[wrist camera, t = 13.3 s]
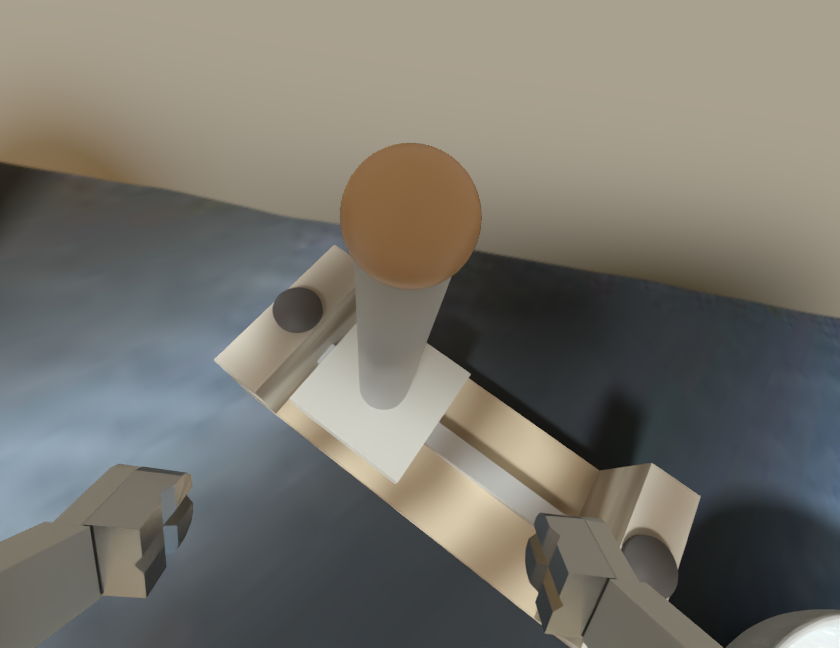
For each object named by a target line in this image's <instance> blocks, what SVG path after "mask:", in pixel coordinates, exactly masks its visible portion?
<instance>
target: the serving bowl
mask: <svg viewBox="0 0 840 648" xmlns="http://www.w3.org/2000/svg"><path fill="white" fill-rule="evenodd" d="M726 648H840V610H833V609H814V610H803V611H795V612H789V613H785V614H781V615H777V616H774V617H771V618H768V619H766V620H764V621H761V622H759V623H758V624H756V625H754V626H752V627H750V628H748V629H747V630H745V631H744V632H743V633H741V634H740V635H739V636H738V637H737V638H735V639H734V640H733V641H732V642H731V643H730V644H729V645H728V646H727V647H726Z"/></svg>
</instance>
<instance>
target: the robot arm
mask: <svg viewBox="0 0 840 648" xmlns="http://www.w3.org/2000/svg"><path fill="white" fill-rule="evenodd" d="M191 488H192V479H191V475H190V474H188V473H185V472H178V471H171V470H164V469H156V468H149V467H138V466H131V465H124V464H118V465H115V466H113V467H111V468H110V469H109V470H108V471H107V472H105V473H104V474H103V475H102V476H101V477H100V478H99V479H98V480H97V481H96V482H95V483H94V484H93V485H92V486H91V487H90V488H89V489H88V490H86V491H85V492H84V493H83V494H82V495H81V496H80V497H79V498H78V499H77V500H76V501H75V502H74V503H73V504H72V505H71V506H70V507H68V508H67V509H66V510H65V511H64V512H63V513H62V514H61V515H60V516H59V517H58V518H57V519H56V520H55V521H54V522H43V523H41V524H39V525H37V526H34V527H32V528H30V529H28V530H26V531H23V532H21V533H19V534H17V535H15V536H13V537H10V538H8V539H6V540H4V541H2V542H0V648H35V647H36V646H37V645H39V644H40V643H41V642H43V641H44V640H45V639H47V638H48V637H49V636H51V635H52V634H53V633H55V632H56V631H57V630H59V629H60V628H61V627H63V626H64V625H66V624H67V623H68V622H70V621H71V620H72V619H74V618H75V617H76V616H78V615H79V614H80V613H82V612H83V611H84V610H86V609H87V608H88V607H90V606H91V605H92V604H94V603H95V602H96V601H98V600H99V599H100V598H101V595H103V596H121V597H138V598H147V596H148V595H149V593H150V591H151V590H152V588H153V587H154V585H155V584H156V582H157V581H158V579H159V577H160V576H161V574H162V573H163V571H164V570H165V568H166V556H167V555H168V554H170V553H171V552H173V551H174V550H176V549H177V548H179V546H180V544H181V543H182V541H183V539H184V538H185V536H186V534H187V531H188V529H189V526H190V523H191V520H192V514H193V502H192V501H191V500H190V498H189V497H188V496H187V493H188V492H189V491H190V489H191ZM533 525H534V527H535V530H536V533H535V534H534V535H533V536H531V537H530V538H529V539H528V542H527V546H526V549H525V566H526V572H527V576H528V579H529V583H530V584H531V585H532V586H533V587H534V588H535V589H536V590H537V592H538V596H537V598H536V601H535V603H536V607H537V610H538V613H539V617H540V620H541V623H542V626H543V630H544V633H545V634H553V635H562V636H570V637H578V638H583V639H582V641H583V642H584V644H585V645H586V646H587V647H588V648H723V647H722V646H721V645H720V644H718V643H717V642H716V641H715V640H714V639H713V638H711V637H710V636H709V635H708V634H707V633H705V632H704V631H703V630H702V629H701V628H699V627H698V626H697V625H696V624H695V623H693V622H692V621H691V620H690V619H689V618H688V617H686V616H685V615H684V614H683V613H682V612H680V611H679V610H678V609H677V608H676V607H674V606H673V605H672V604H671V603H670V602H668V601H667V600H666V599H665V598H664V597H663V596H661V595H660V594H659V593H658V592H657V591H655V590H654V589H653V588H652V587H651V586H649V585H648V584H647V583H644V582H639V580H638V578H637V576H636V575H635V573H634V571H633V569H632V568H631V566H630V564H629V563H628V561H627V559H626V557H625V556H624V554H623V552H622V550H621V549H620V547H619V545H618V544H617V542H616V540H615V538H614V537H613V535H612V533H611V531H610V530H609V528H608V526H607V524H606V523H605V522H604V521H603V520H602V519H601V518H591V517H578V516H570V515H560V514H550V513H539V514H538V515H537V516H536V519H535V522H534V524H533Z"/></svg>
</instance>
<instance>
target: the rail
mask: <svg viewBox="0 0 840 648" xmlns="http://www.w3.org/2000/svg"><path fill="white" fill-rule="evenodd" d="M356 323H357V317H356V294H355V272H354V259H353V258H352V256H350V255H349V254H347V253H346V252H345V251H343V250H342V249H340V248H339V247H337V246H336V245H334V246H333V247H331V248H330V249H329V250H328V251H327V252H326V253H325V254H324V255H323V256H322V257H321V258H320V259H319V260H318V261H317V262H316V263H315V264H314V265H313V266H312V267H311V268H309V269H308V270H307V271H306V272H305V273H304V274H303V275H302V276H301V277H300V278H299V279H298V280H297V281H296V282H295V283H294V284H293V285H292V286H291V287H290V288H289V289H287V290H286V291H284V292H282V293H281V294H280V295H279V296H278V297H277V298H276V300H275V302H274V303H273V304H272V305H271V306H270V307H269V308H268V309H267V310H265V311H264V312H263V313H262V314H261V315H260V316H259V317H258V318H257V319H256V320H255V321H254V322H253V323H252V324H251V325H250V326H249V327H248V328H247V329H246V330H245V331H243V332H242V333H241V334H240V335H239V336H238V337H237V338H236V339H235V340H234V341H233V342H232V343H231V344H230V345H229V346H228V347H227V348H226V349H225V350H224V351H223V352H221V353H220V354H219V355H218V356H217V357H216V358H215V359H214V361H215V362H216V363H218V364H219V365H220V366H221V367H222V368H223V369H224V370H225V371H226V372H227V373H228V374H229V375H230V376H231V377H232V378H233V379H234V380H235V381H236V382H237V383H238V384H239V385H241V386H242V387H243V388H244V389H245V390H246V391H247V392H248V393H249V394H250V395H252V396H253V397H254V398H255V399H257V400H258V401H259V402H260V403H262V404H263V405H264V406H265V407H267V408H268V409H269V410H271V411H272V412H273V413H274V414H276V415H277V416H278V417H279V418H281V419H282V420H283V421H284V422H286V423H287V424H288V425H289V426H291V427H292V428H293V429H295V430H296V431H297V432H298V433H300V434H301V435H302V436H303V437H305V438H306V439H307V440H308V441H310V442H311V443H312V444H313V445H315V446H316V447H317V448H319V449H320V450H321V451H322V452H324V453H325V454H326V455H327V456H329V457H330V458H331V459H332V460H334V461H335V462H336V463H337V464H339V465H340V466H341V467H343V468H344V469H345V470H346V471H348V472H349V473H350V474H351V475H353V476H354V477H355V478H356V479H358V480H359V481H360V482H362V483H363V484H364V485H365V486H367V487H368V488H369V489H370V490H372V491H373V492H374V493H375V494H377V495H378V496H379V497H380V498H382V499H383V500H384V501H386V502H387V503H388V504H389V505H391V506H392V507H393V508H394V509H396V510H397V511H398V512H399V513H401V514H402V515H403V516H404V517H406V518H407V519H408V520H410V521H411V522H412V523H413V524H415V525H416V526H417V527H418V528H420V529H421V530H422V531H423V532H425V533H426V534H427V535H428V536H430V537H431V538H432V539H434V540H435V541H436V542H437V543H439V544H440V545H441V546H442V547H444V548H445V549H446V550H447V551H449V552H450V553H451V554H452V555H454V556H455V557H456V558H458V559H459V560H460V561H461V562H463V563H464V564H465V565H466V566H468V567H469V568H470V569H471V570H473V571H474V572H475V573H476V574H478V575H479V576H480V577H482V578H483V579H484V580H485V581H487V582H488V583H489V584H490V585H492V586H493V587H494V588H495V589H497V590H498V591H499V592H500V593H502V594H503V595H504V596H506V597H507V598H508V599H509V600H511V601H512V602H513V603H514V604H516V605H517V606H518V607H519V608H521V609H522V610H523V611H524V612H526V613H527V614H528V615H530V616H531V617H532V618H533V619H535V620H536V621H537V622H538V623H540V624H541V625H542V623H541V620H540V617H539V613H538V610H537V607H536V603H535V601H536V598H537V596H538V592H537V590H536V589H535V588H534V587H533V586H532V585H531V584H530V583H529V579H528V576H527V572H526V566H525V549H526V546H527V542H528V539H529V538H530V537H531V536H533V535H534V534H535V533H536V530H535V527H534V525H533V524H534V522H535V519H536V516H537V515H538V514H539V513H550V514H560V515H570V516H578V517H591V518H601V519H602V520H603V521H604V522H605V523H606V524H607V526H608V528H609V530H610V531H611V533H612V535H613V537H614V538H615V540H616V542H617V544H618V545H619V547H620V549H621V550H622V552H623V554H624V556H625V557H626V559H627V561H628V563H629V564H630V566H631V568H632V569H633V571H634V573H635V575H636V576H637V578H638V580H639V582H644V583H647V584H648V585H649V586H651V587H652V588H653V589H654V590H655V591H657V592H658V593H659V594H660V595H661V596H663V597H664V598H665V599H666V600H667V601H668V600H669V597H670V596H671V595H672V594H673V593H674V591H675V589H676V587H677V583H678V568H679V564H680V561H681V558H682V555H683V552H684V548H685V545H686V542H687V539H688V535H689V532H690V529H691V526H692V523H693V519H694V516H695V513H696V510H697V507H698V503H699V500H700V497H701V496H699V495H698V494H696V493H695V492H693V491H692V490H690V489H689V488H688V487H686V486H685V485H683V484H682V483H680V482H679V481H677V480H676V479H674V478H673V477H672V476H670V475H669V474H667V473H666V472H664V471H663V470H661V469H660V468H658V467H657V466H656V465H654V464H653V463H649V464H642V465H635V466H628V467H621V468H614V469H607V470H600V471H599V470H598V469H596V468H595V467H594V466H592V465H591V464H589V463H588V462H587V461H585V460H584V459H582V458H581V457H579V456H578V455H577V454H575V453H574V452H572V451H571V450H570V449H568V448H567V447H565V446H564V445H562V444H561V443H560V442H558V441H557V440H555V439H554V438H553V437H551V436H550V435H548V434H547V433H546V432H544V431H543V430H541V429H540V428H538V427H537V426H536V425H534V424H533V423H531V422H530V421H529V420H527V419H526V418H524V417H523V416H521V415H520V414H519V413H517V412H516V411H514V410H513V409H512V408H510V407H509V406H507V405H506V404H504V403H503V402H502V401H500V400H499V399H497V398H496V397H495V396H493V395H492V394H490V393H489V392H487V391H486V390H485V389H483V388H482V387H480V386H479V385H478V384H476V383H475V382H473V381H472V380H470V379H469V378H468V379H467V381H466V382H465V384H464V385H463V387H462V388H461V390H460V391H459V393H458V394H457V396H456V397H455V399H454V400H453V402H452V403H451V405H450V406H449V407H448V409H447V410H446V412H445V413H444V415H443V416H442V418H441V419H440V421H439V422H438V424H437V425H436V427H435V428H434V430H433V431H432V433H431V434H430V436H429V437H428V439H427V440H426V441H425V443H424V444H423V446H422V447H421V449H420V450H419V452H418V453H417V455H416V456H415V458H414V459H413V461H412V462H411V464H410V465H409V467H408V468H407V470H406V471H405V473H404V474H403V475H402V477H401V478H400V480H399V481H398V483H396V484H394V483H393V482H391V481H390V480H389V479H387V478H386V477H385V476H384V475H382V474H381V473H380V472H379V471H377V470H376V469H375V468H373V467H372V466H371V465H370V464H368V463H367V462H366V461H364V460H363V459H362V458H361V457H359V456H358V455H357V454H355V453H354V452H353V451H352V450H350V449H349V448H348V447H346V446H345V445H344V444H343V443H341V442H340V441H339V440H337V439H336V438H335V437H334V436H332V435H331V434H330V433H329V432H327V431H326V430H325V429H323V428H322V427H321V426H320V425H318V424H317V423H316V422H314V421H313V420H312V419H311V418H309V417H308V416H307V415H305V414H304V413H303V412H302V411H300V410H299V409H298V408H296V407H295V406H294V405H293V403H292V402H291V400H290V399H289V398H290V397H291V396H292V395H293V394H294V392H295V391H296V390H297V389H298V388H299V387H300V386H301V385H302V383H303V382H304V381H305V380H306V379H307V378H308V377H309V376H310V375H311V373H312V372H313V371H314V370H315V369H316V368H317V367H318V366H319V364H320V363H321V362H322V361H323V360H324V359H325V358H326V357H327V356H328V354H329V353H330V352H331V351H332V350H333V349H334V348H335V347H336V345H337V344H338V343H339V342H340V341H341V340H342V339H343V338H344V337H345V335H346V334H347V333H348V332H349V331H350V330H351V329H352V328H353V326H354V325H355V324H356ZM555 636H556V637H557V638H559V639H560V640H561V641H562V642H564V643H565V644H566V645H568V646H569V647H570V648H588V647H587V646H586V645H585V644H584V642H583V641H582V639H583V638H578V637H570V636H562V635H555Z"/></svg>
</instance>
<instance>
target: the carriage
mask: <svg viewBox="0 0 840 648" xmlns="http://www.w3.org/2000/svg"><path fill="white" fill-rule="evenodd" d="M481 220H482V216H481V204H480V200H479V196H478V192H477V190H476V187H475V185H474V183H473V181H472V179H471V178H470V176H469V174H468V173H467V172H466V170H465V169H464V168H463V167H462V166H461V165H460V164H459V163H458V162H457V161H456V160H455V159H454V158H453V157H451V156H450V155H449V154H447V153H445V152H443V151H441V150H439V149H437V148H435V147H432V146H429V145H424V144H418V143H402V144H396V145H392V146H389V147H386V148H384V149H381V150H379V151H377V152H376V153H374V154H372V155H371V156H369V157H368V158H367V159H366V160H365V161H363V162H362V163H361V165H359V166H358V168H357V169H356V170H355V172H354V173H353V175H352V176H351V177H350V179H349V181H348V183H347V185H346V188H345V190H344V193H343V196H342V201H341V207H340V225H341V230H342V235H343V239H344V242H345V244H346V247H347V249H348V251H349V253H350V255H351V256H352V258H353V259H354V272H355V294H356V317H357V323H356V324H355V325H354V326H353V328H352V329H351V330H350V331H349V332H348V333H347V334H346V335H345V337H344V338H343V339H342V340H341V341H340V342H339V343H338V344H337V345H336V347H335V348H334V349H333V350H332V351H331V352H330V353H329V354H328V356H327V357H326V358H325V359H324V360H323V361H322V362H321V363H320V364H319V366H318V367H317V368H316V369H315V370H314V371H313V372H312V373H311V375H310V376H309V377H308V378H307V379H306V380H305V381H304V382H303V383H302V385H301V386H300V387H299V388H298V389H297V390H296V391H295V392H294V394H293V395H292V396H291V397H290V398H289V399H290V400H291V402H292V403H293V405H294V406H295V407H296V408H298V409H299V410H300V411H302V412H303V413H304V414H305V415H307V416H308V417H309V418H311V419H312V420H313V421H314V422H316V423H317V424H318V425H320V426H321V427H322V428H323V429H325V430H326V431H327V432H329V433H330V434H331V435H332V436H334V437H335V438H336V439H337V440H339V441H340V442H341V443H343V444H344V445H345V446H346V447H348V448H349V449H350V450H352V451H353V452H354V453H355V454H357V455H358V456H359V457H361V458H362V459H363V460H364V461H366V462H367V463H368V464H370V465H371V466H372V467H373V468H375V469H376V470H377V471H379V472H380V473H381V474H382V475H384V476H385V477H386V478H387V479H389V480H390V481H391V482H393V483H394V484H396V483H398V481H399V480H400V478H401V477H402V475H403V474H404V473H405V471H406V470H407V468H408V467H409V465H410V464H411V462H412V461H413V459H414V458H415V456H416V455H417V453H418V452H419V450H420V449H421V447H422V446H423V444H424V443H425V441H426V440H427V439H428V437H429V436H430V434H431V433H432V431H433V430H434V428H435V427H436V425H437V424H438V422H439V421H440V419H441V418H442V416H443V415H444V413H445V412H446V410H447V409H448V407H449V406H450V405H451V403H452V402H453V400H454V399H455V397H456V396H457V394H458V393H459V391H460V390H461V388H462V387H463V385H464V384H465V382H466V381H467V379H468V378H469V376H470V375H471V374H470V373H469V372H467V371H466V370H465V369H463V368H462V367H460V366H459V365H458V364H456V363H455V362H453V361H452V360H450V359H449V358H448V357H446V356H445V355H443V354H442V353H440V352H439V351H438V350H436V349H435V348H433V347H432V346H431V345H429V344H428V343H426V342H427V340H428V337H429V335H430V332H431V329H432V327H433V324H434V321H435V319H436V316H437V314H438V311H439V308H440V306H441V303H442V300H443V298H444V295H445V293H446V290H447V287H448V285H449V282H450V279H451V277H452V276H453V275H454V274H455V273H457V272H458V271H459V270H460V269H461V268H462V267H463V265H464V264H465V263H466V262H467V260H468V259H469V258H470V256H471V254H472V252H473V251H474V248H475V246H476V244H477V241H478V238H479V234H480V229H481Z"/></svg>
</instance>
